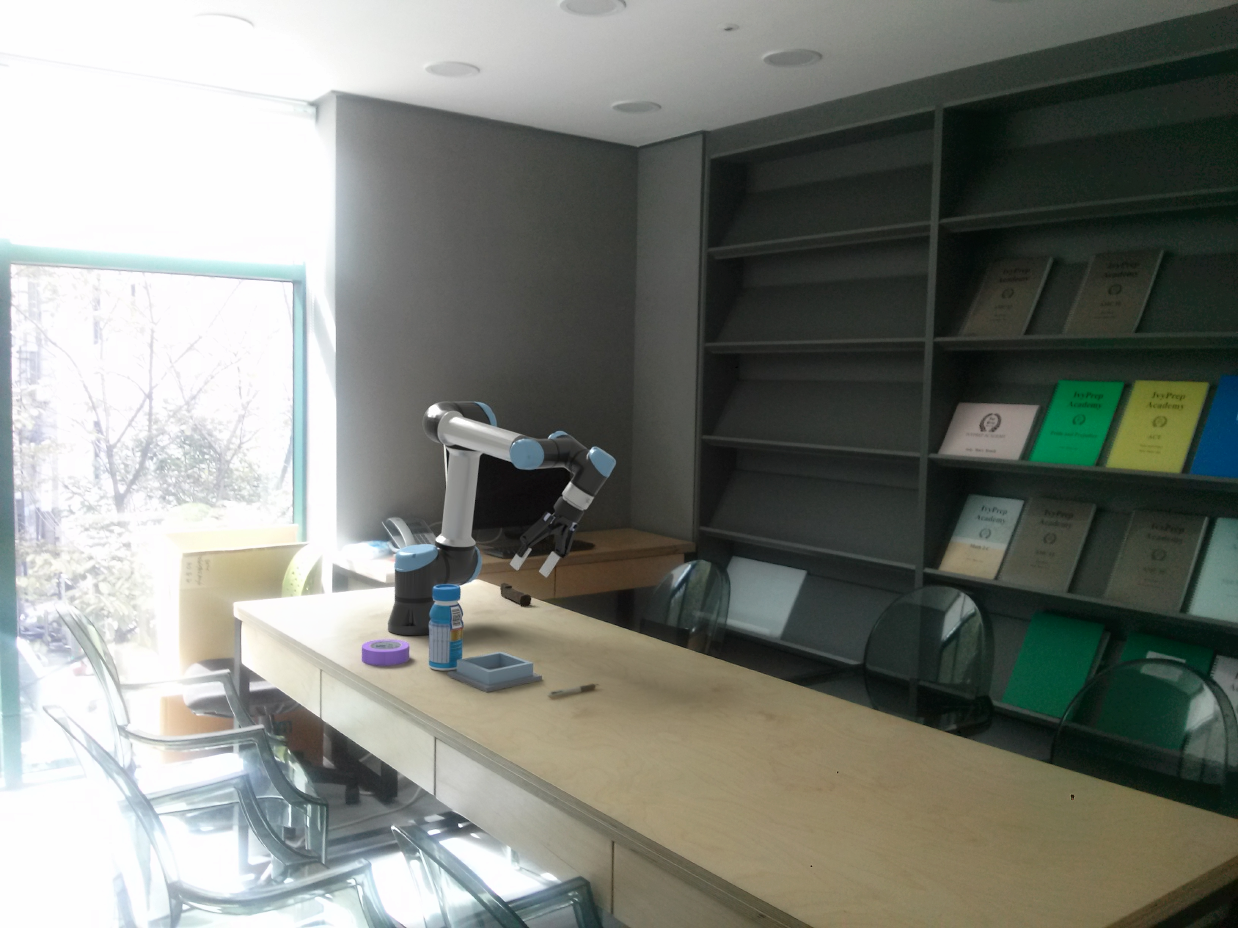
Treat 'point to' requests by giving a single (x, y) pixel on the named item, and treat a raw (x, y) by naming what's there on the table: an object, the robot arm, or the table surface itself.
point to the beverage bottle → (445, 628)
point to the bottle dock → (494, 671)
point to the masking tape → (385, 652)
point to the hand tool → (515, 595)
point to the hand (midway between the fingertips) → (528, 571)
